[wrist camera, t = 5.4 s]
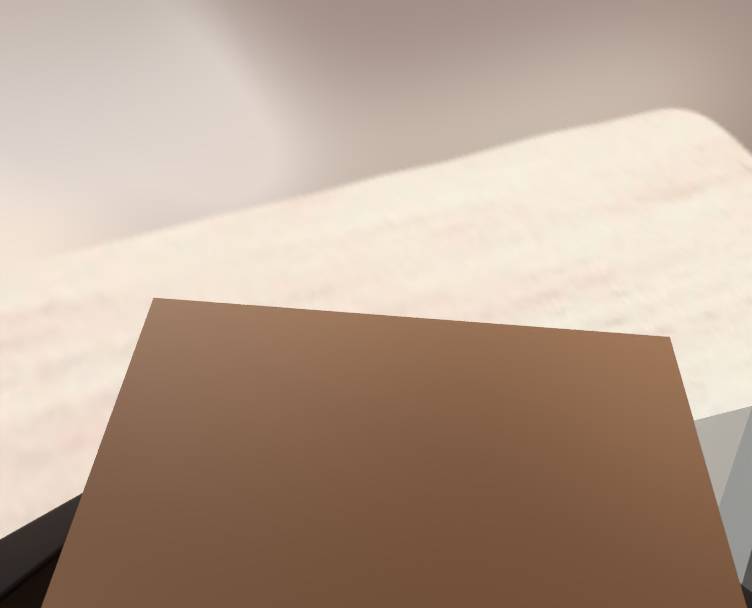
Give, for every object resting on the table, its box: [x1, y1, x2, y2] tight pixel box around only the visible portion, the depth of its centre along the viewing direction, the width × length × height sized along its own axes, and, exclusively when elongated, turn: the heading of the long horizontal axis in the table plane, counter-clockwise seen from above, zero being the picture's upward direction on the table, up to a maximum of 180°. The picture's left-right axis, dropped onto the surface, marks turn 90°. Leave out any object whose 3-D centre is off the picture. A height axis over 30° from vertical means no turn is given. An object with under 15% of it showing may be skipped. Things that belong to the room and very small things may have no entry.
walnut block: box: [41, 298, 747, 608], centre depth 9 cm, size 5×5×13 cm
